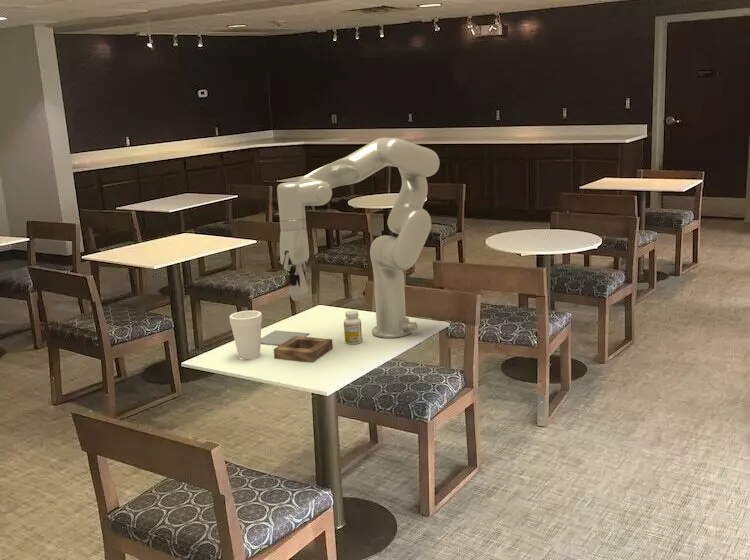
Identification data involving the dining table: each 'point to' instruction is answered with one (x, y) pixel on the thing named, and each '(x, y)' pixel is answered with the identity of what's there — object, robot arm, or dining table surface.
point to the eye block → (303, 349)
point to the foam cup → (247, 333)
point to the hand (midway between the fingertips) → (298, 285)
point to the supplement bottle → (352, 328)
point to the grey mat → (280, 337)
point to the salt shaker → (295, 291)
